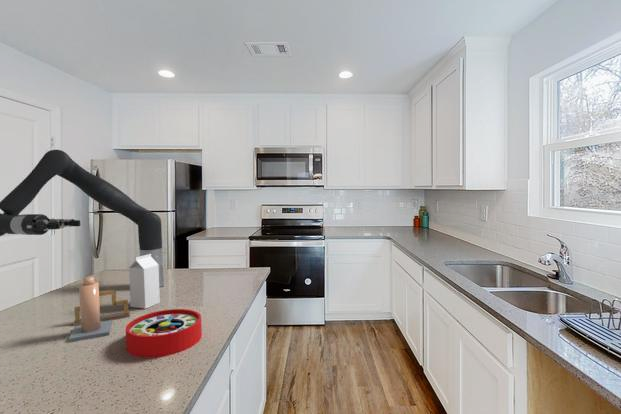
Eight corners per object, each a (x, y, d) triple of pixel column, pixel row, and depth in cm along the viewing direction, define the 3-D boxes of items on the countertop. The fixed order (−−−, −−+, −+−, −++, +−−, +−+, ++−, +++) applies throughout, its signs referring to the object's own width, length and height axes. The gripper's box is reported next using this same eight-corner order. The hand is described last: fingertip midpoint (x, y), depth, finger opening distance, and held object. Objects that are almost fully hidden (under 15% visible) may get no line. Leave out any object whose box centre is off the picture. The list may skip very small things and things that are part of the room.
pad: (111, 323, 110) (111, 320, 110) (109, 335, 101) (109, 331, 101) (75, 329, 105) (74, 326, 105) (68, 342, 96) (68, 338, 96)
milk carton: (160, 303, 129) (158, 254, 128) (145, 309, 122) (143, 258, 121) (145, 301, 131) (143, 253, 130) (130, 307, 125) (128, 256, 124)
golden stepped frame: (129, 314, 118) (128, 287, 117) (129, 316, 115) (128, 289, 115) (75, 322, 111) (73, 294, 110) (73, 325, 108) (71, 296, 108)
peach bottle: (101, 324, 106) (99, 274, 105) (99, 330, 102) (97, 278, 101) (82, 327, 104) (80, 277, 103) (80, 333, 100) (77, 281, 99)
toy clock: (110, 338, 86) (145, 309, 106) (111, 360, 87) (145, 327, 107) (188, 335, 87) (208, 308, 107) (189, 357, 88) (209, 325, 108)
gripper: (9, 215, 115) (51, 215, 113) (47, 212, 129) (85, 212, 127) (11, 237, 115) (52, 237, 113) (49, 232, 129) (86, 232, 127)
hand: (69, 224), depth 120 cm, fingers open, 8 cm apart
